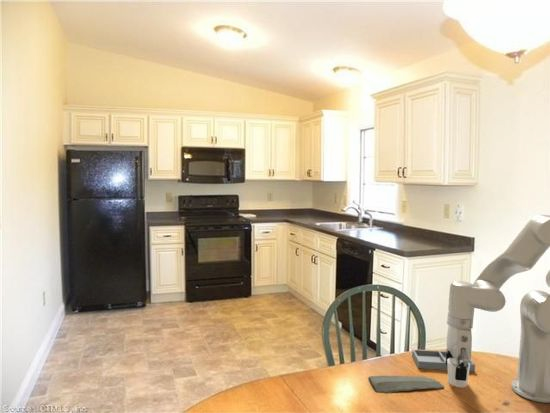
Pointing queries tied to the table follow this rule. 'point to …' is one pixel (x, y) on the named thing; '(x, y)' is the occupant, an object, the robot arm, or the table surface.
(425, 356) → the tray
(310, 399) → the table surface
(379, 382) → the stone slab
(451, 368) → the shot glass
